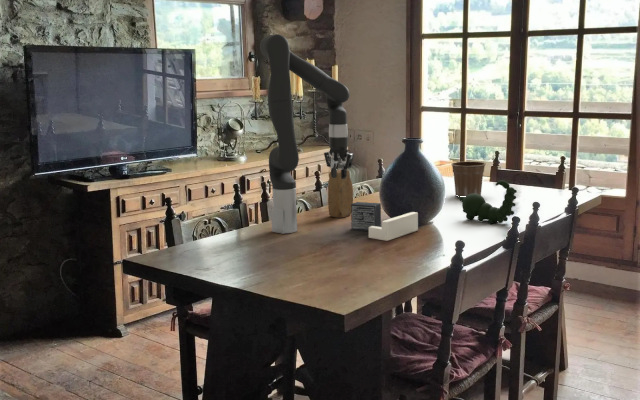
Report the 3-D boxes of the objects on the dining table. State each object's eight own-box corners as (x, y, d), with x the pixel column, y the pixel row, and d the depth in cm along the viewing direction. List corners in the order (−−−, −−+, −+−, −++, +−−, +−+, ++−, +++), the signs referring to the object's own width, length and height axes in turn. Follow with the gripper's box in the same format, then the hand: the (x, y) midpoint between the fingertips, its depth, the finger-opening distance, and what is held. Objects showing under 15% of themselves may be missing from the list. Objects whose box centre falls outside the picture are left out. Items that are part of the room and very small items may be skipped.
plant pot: (451, 199, 329) (451, 165, 326) (450, 193, 345) (450, 161, 342) (485, 199, 327) (486, 165, 324) (483, 193, 342) (484, 161, 339)
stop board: (387, 240, 253) (387, 222, 251) (368, 237, 258) (368, 219, 257) (417, 230, 268) (417, 212, 267) (399, 227, 273) (399, 210, 272)
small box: (381, 228, 272) (381, 202, 270) (376, 232, 266) (376, 205, 264) (357, 226, 276) (356, 201, 274) (350, 230, 271) (350, 204, 269)
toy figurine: (516, 227, 277) (461, 214, 293) (521, 181, 272) (466, 170, 288) (504, 231, 270) (450, 218, 286) (510, 184, 265) (454, 173, 281)
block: (340, 219, 291) (339, 172, 287) (326, 216, 296) (325, 170, 292) (355, 214, 299) (355, 169, 295) (342, 212, 304) (341, 167, 300)
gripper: (318, 135, 275) (319, 177, 278) (346, 137, 266) (347, 181, 269) (330, 134, 281) (331, 175, 284) (358, 135, 271) (358, 178, 275)
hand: (339, 178), depth 276 cm, fingers open, 4 cm apart
